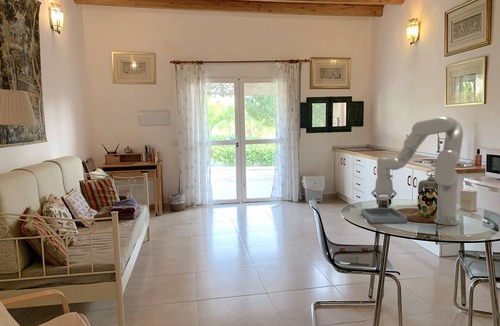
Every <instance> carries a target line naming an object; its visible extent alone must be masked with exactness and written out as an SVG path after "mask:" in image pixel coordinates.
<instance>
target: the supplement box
mask: <svg viewBox="0 0 500 326" xmlns="http://www.w3.org/2000/svg"><path fill="white" fill-rule="evenodd" d="M459 193H460V194H459V197H460V199H459V205H460V206H459V209H460V210H462V211H467V212H472V213H473V212H477V209H478V208H477V207H478V206H477V205H478V203H477V201H478V195H477V194H478V191H477V190H471V189H466V188H465V189H460V192H459Z"/></svg>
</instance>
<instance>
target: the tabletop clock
mask: <svg viewBox="0 0 500 326" xmlns="http://www.w3.org/2000/svg"><path fill="white" fill-rule="evenodd" d="M429 172H435V169H434V170H433V169H430V170H427V171H426V176H428V177H427V179H422V180H420V181H418V185H417V195H418V194H419V192H420V191H422V190H423V187H433V188H435V189H436V191H437V192H438V184H437V183H436V182H435V180H434V174H428V173H429Z"/></svg>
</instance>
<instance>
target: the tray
mask: <svg viewBox="0 0 500 326" xmlns="http://www.w3.org/2000/svg"><path fill="white" fill-rule="evenodd" d="M360 215H362V216H363V217H364V218H365V219H366V220H367V221H368V222H369V223H370V224H371V225H376V224H377V225H380V224H382V225H383V224H386V225H387V224H408V217H407V216H406V215H405V214H403V213H401V212H400V211H398V210H396V209H395V208H393V207H389V209H378V207H377V208H375V207H374V208H370V207H369V208H360Z"/></svg>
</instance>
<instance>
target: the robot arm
mask: <svg viewBox="0 0 500 326" xmlns="http://www.w3.org/2000/svg"><path fill="white" fill-rule="evenodd" d="M462 127H463V126H462V125H461V124H460V122H459V121H457V120H456V119H454V118H453V117H450V116H440V117H435V118H430V119H427V120H420V121H417V122H415V123H414V124H413V125H412V128H411V132H410V133H409V135H407V137H406V139H404V141H403V146H402V149H401V150H400V151H399V153H398V154H397V156H395V157H386V156H383V157H377V159H376V160H377V161H376V162H377V163H376V164H377V167H376V168H377V171H376V172H377V174H376V175H377V178H376V180H375V188H374V189H373V190H372V191H371V192H370V193H371V195H372V196H373V197H374V198H375V199H376V204H377V205H378V198H379V196H389V207H391V205H392V200H393V198H395V197H396V196H397V195H398V193H397V192H396V190H394V187H393V179H392V178H393V177H394V176H393V175H392V174H391V170H394V171H397V170H401V169H403V168H404V167H405V166H406V165H407V164H408V163H409V161H410V160H411V159H412V157H413V156H414V155H415V153H416V152H417V150H418V149H419V147H420V146H422V144H423V142H424V141H425V140H426V139H427V138H428V136H431V135H435V134H437V135H438V134H441V133H445V137H444V141H443V148H442V150H441V151H440V152H439V153H438V155H437V157H436V163H435V169H434V174H433V175H434V176H433V177H434V180H435V182H436V183H437V184H438V195H437V205H436V206H437V208H436V209H437V210H436V211H437V213H436V216H437V217H436V218H434V219H433V222H434V223H436V224H439V225H444V226H456V225H459V224H460V220H458V219H457V196H458V194H457V193H458V192H457V191H458V181H459V176H458V172H457V171H456V166H457V164H458V163H459V161H460V159H461V151H462V145H463V138H464V132H463V131H464V129H463V128H462Z"/></svg>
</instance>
